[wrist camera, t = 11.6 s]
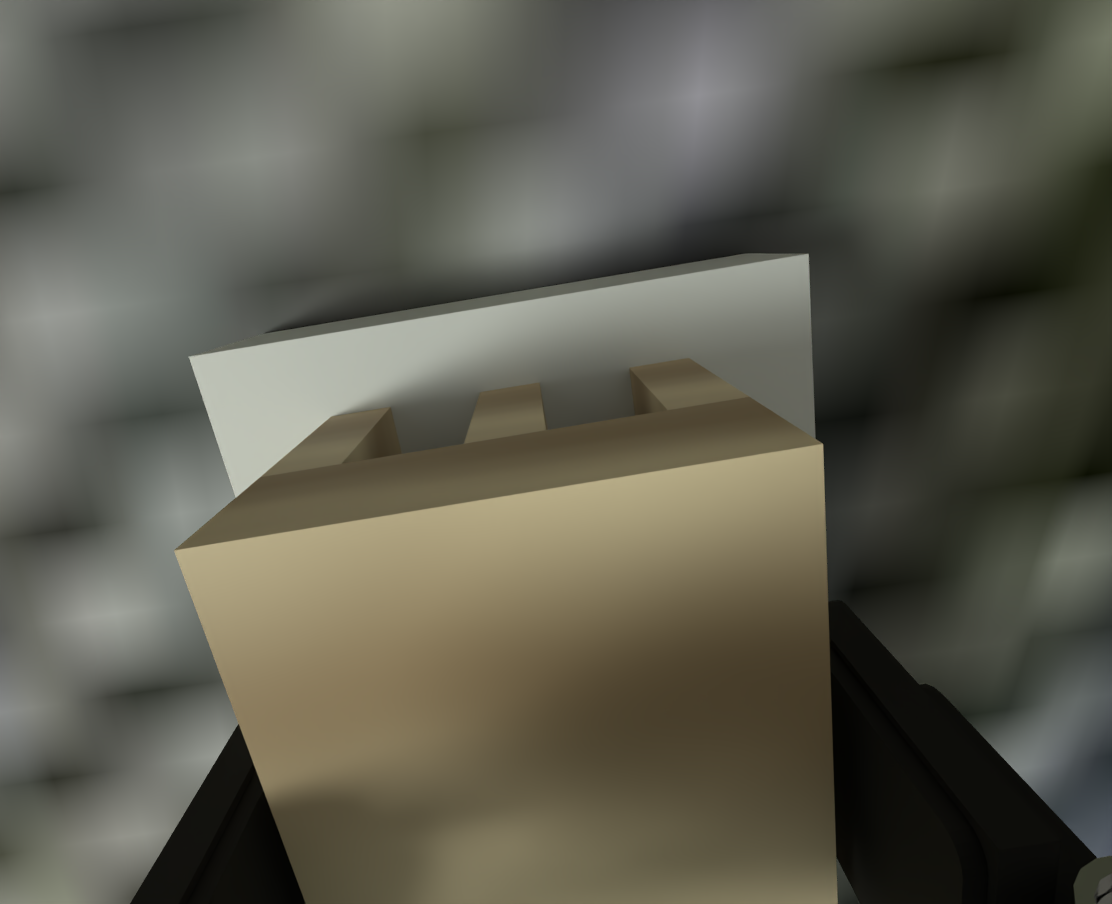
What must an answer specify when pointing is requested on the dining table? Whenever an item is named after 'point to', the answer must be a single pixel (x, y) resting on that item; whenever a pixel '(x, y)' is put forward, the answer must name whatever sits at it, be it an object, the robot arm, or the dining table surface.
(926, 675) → the dining table surface
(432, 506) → the tan long block
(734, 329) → the dock
